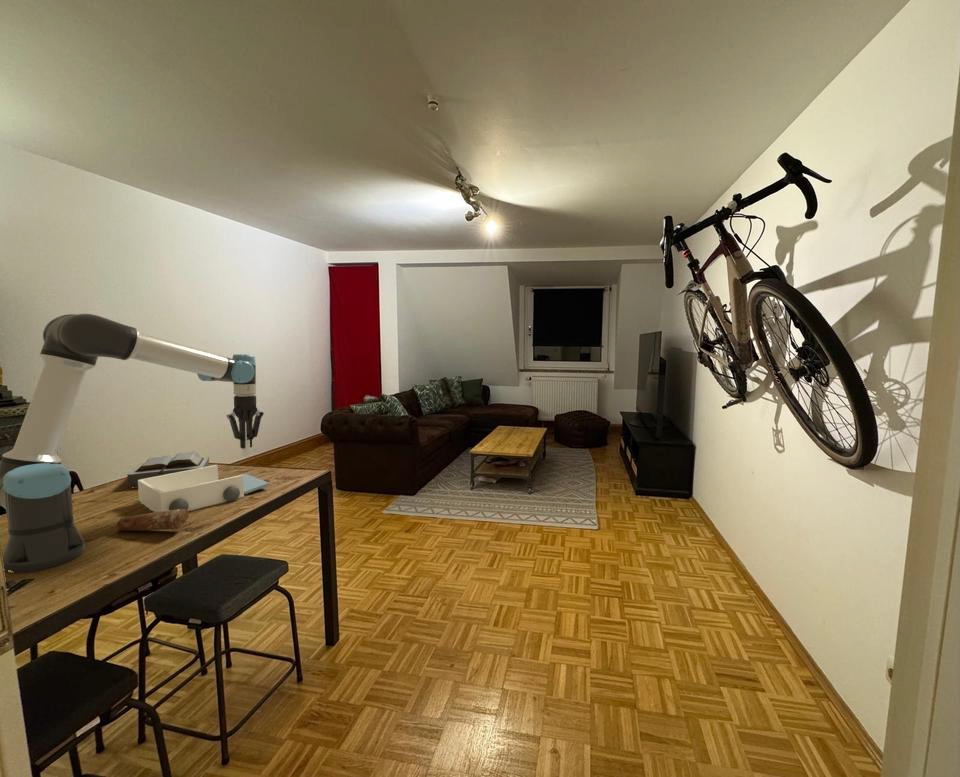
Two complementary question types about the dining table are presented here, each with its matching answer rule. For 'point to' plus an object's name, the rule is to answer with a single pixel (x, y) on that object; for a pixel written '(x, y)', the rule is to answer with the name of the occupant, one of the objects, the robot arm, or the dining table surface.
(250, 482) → the tailgate
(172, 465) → the bible
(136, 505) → the dining table surface
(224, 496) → the white toy wagon
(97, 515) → the dining table surface
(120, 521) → the bread
